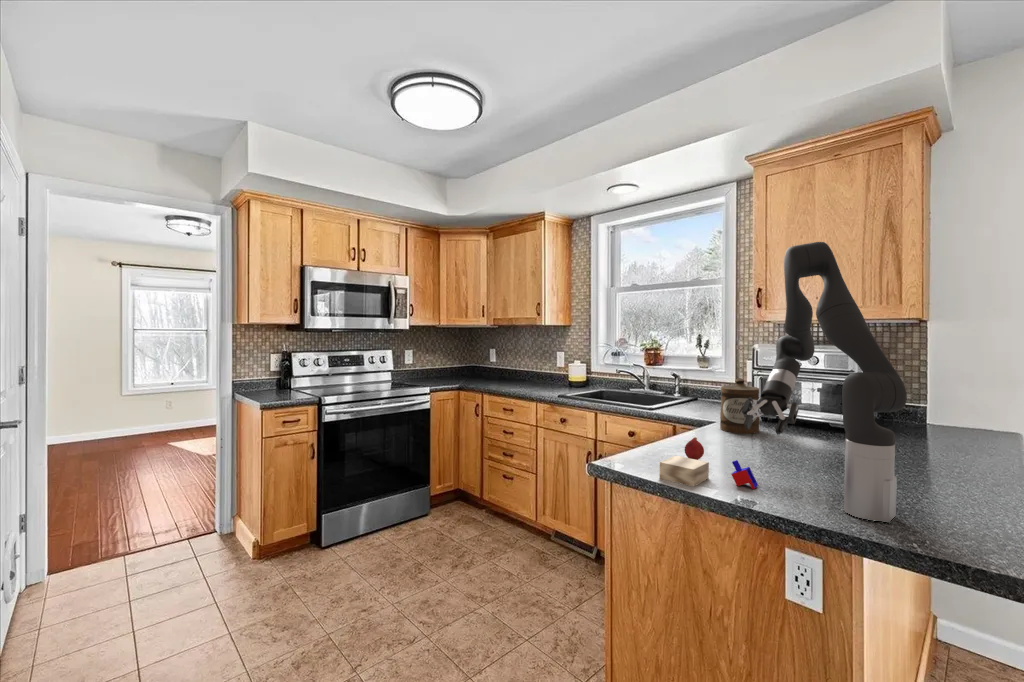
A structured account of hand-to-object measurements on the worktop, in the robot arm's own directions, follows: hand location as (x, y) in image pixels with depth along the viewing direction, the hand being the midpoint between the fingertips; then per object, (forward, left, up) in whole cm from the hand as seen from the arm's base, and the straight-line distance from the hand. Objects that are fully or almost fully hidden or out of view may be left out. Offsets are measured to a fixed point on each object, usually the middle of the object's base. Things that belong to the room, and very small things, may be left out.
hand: (761, 430), depth 140 cm
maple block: (+14, +18, -14) cm, 27 cm away
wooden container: (+34, -59, -14) cm, 70 cm away
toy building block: (0, +11, -14) cm, 18 cm away
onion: (+21, 0, -14) cm, 25 cm away
